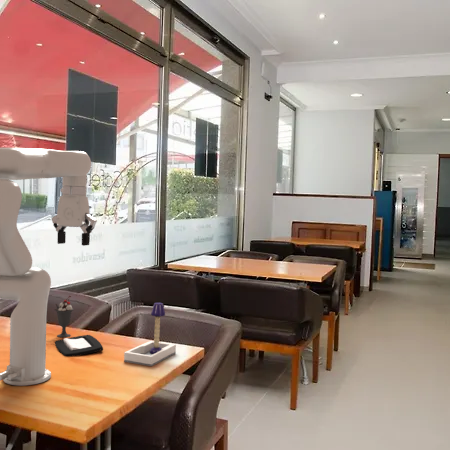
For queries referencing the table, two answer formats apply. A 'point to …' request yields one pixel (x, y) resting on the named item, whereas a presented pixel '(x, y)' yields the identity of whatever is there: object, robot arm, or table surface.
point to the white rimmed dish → (145, 357)
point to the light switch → (78, 345)
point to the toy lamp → (157, 325)
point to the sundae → (64, 316)
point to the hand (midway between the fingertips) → (73, 244)
